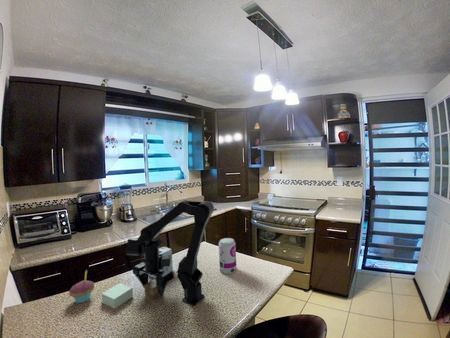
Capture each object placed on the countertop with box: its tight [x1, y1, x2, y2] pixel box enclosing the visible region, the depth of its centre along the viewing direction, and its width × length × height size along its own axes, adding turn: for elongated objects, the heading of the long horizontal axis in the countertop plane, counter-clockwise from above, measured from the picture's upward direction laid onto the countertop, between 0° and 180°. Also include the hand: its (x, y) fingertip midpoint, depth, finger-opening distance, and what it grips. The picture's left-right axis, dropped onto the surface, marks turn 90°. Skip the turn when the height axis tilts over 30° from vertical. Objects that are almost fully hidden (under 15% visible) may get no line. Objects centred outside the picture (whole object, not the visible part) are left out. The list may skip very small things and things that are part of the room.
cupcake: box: [68, 268, 95, 304], centre depth 88 cm, size 9×8×12 cm
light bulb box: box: [148, 246, 174, 280], centre depth 107 cm, size 11×7×11 cm, turn 143°
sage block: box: [101, 283, 134, 309], centre depth 87 cm, size 8×8×4 cm
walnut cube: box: [143, 278, 161, 301], centre depth 89 cm, size 5×5×5 cm
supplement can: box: [218, 237, 238, 275], centre depth 106 cm, size 8×8×15 cm
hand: (154, 292), depth 89 cm, fingers open, 9 cm apart
